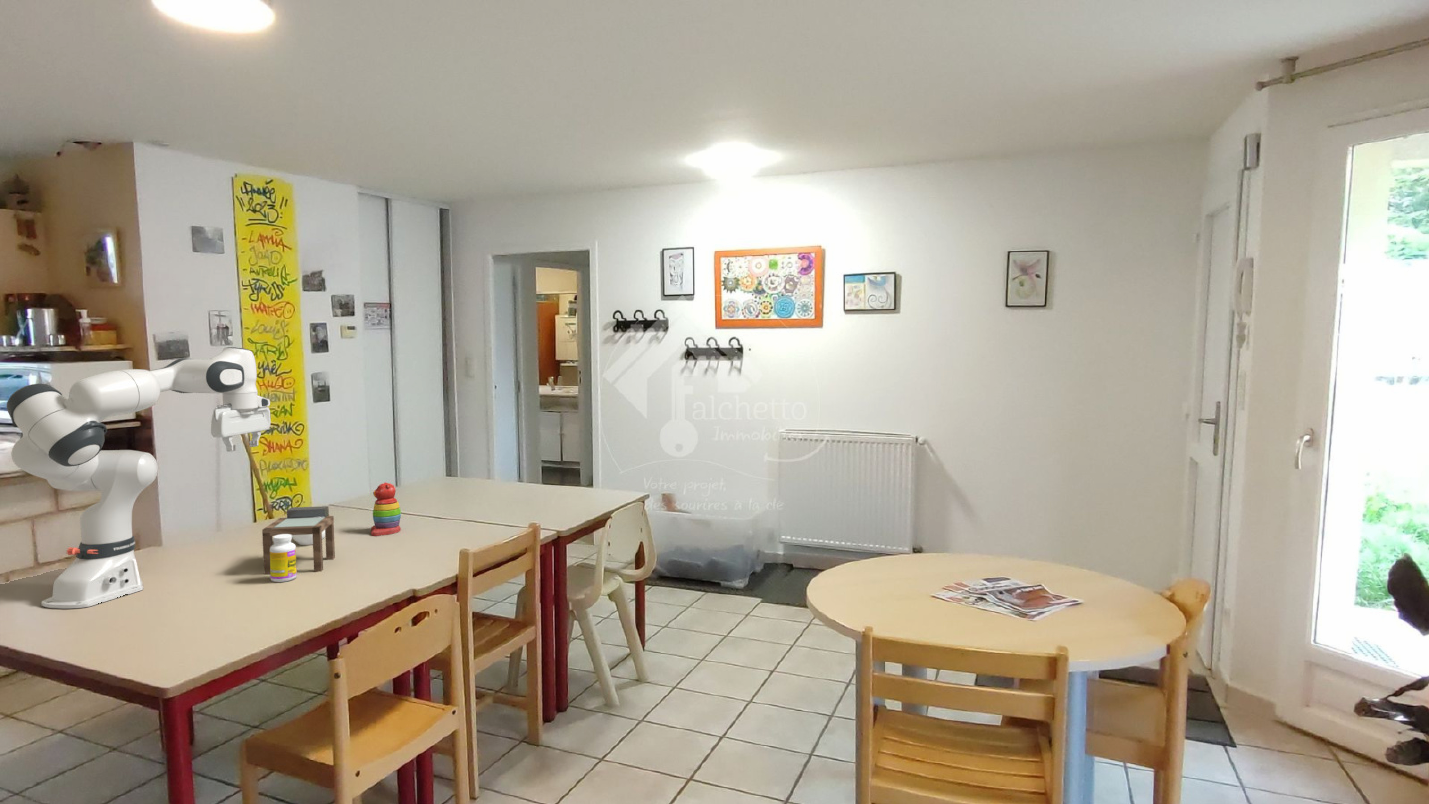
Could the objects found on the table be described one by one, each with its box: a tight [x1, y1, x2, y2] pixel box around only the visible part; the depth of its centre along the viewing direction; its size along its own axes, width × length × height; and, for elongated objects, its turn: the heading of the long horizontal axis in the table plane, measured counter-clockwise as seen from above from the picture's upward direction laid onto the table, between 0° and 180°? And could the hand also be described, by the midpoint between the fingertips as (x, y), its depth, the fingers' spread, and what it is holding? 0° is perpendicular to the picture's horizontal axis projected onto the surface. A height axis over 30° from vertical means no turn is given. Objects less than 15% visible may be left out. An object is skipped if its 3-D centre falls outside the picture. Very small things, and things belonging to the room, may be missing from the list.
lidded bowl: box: [292, 514, 331, 546], centre depth 260 cm, size 13×13×11 cm
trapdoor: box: [274, 505, 330, 528], centre depth 236 cm, size 16×11×6 cm
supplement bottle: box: [269, 534, 298, 583], centre depth 221 cm, size 7×7×13 cm
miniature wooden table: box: [261, 515, 336, 575], centre depth 234 cm, size 15×16×14 cm
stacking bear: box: [370, 481, 402, 537], centre depth 275 cm, size 11×10×18 cm
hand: (242, 448), depth 226 cm, fingers open, 8 cm apart
